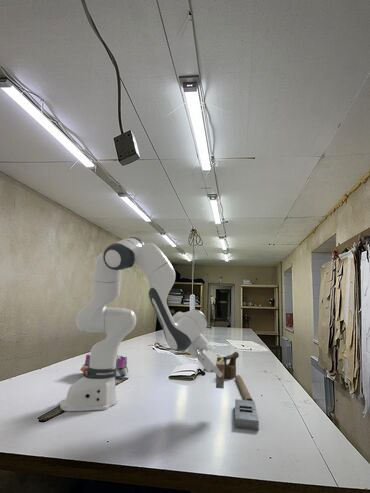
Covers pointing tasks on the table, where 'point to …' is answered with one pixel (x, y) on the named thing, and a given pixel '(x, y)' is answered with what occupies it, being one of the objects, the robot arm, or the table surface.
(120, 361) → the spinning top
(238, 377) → the roll
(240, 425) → the grey slotted block
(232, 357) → the wooden tool caddy
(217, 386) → the clip
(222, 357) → the box
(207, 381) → the table surface
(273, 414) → the table surface
